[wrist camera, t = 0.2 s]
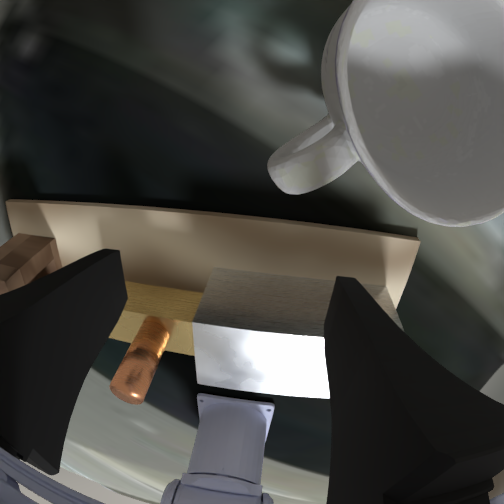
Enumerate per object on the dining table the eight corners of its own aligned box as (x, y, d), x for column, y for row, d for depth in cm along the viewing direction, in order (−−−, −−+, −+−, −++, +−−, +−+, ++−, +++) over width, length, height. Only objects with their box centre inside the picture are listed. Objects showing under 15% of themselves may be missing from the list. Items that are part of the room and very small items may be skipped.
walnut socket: (73, 305, 25) (37, 353, 19) (37, 296, 25) (1, 337, 19) (55, 238, 21) (5, 281, 16) (18, 232, 22) (-29, 270, 16)
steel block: (364, 342, 23) (375, 398, 18) (214, 327, 23) (197, 383, 19) (386, 285, 20) (407, 342, 15) (213, 266, 21) (192, 322, 16)
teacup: (444, 2, 11) (518, -27, 4) (486, 158, 15) (564, 201, 8) (231, 45, 14) (190, 11, 7) (297, 211, 19) (301, 286, 12)
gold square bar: (365, 342, 21) (383, 435, 14) (117, 310, 22) (69, 387, 15) (378, 311, 20) (405, 408, 13) (110, 278, 21) (52, 355, 14)
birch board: (366, 366, 25) (367, 371, 24) (43, 313, 27) (40, 316, 26) (417, 237, 19) (420, 241, 18) (9, 199, 21) (5, 201, 20)
